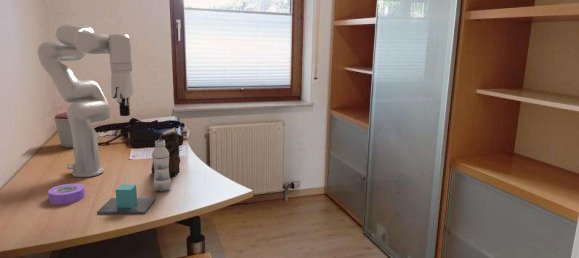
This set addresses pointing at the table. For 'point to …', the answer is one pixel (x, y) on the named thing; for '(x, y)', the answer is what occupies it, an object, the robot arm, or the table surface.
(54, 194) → the masking tape
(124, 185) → the teal rounded cube
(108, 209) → the dark grey base plate
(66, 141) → the canister
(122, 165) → the table surface
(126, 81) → the robot arm
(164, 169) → the plastic bottle
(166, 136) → the owl
